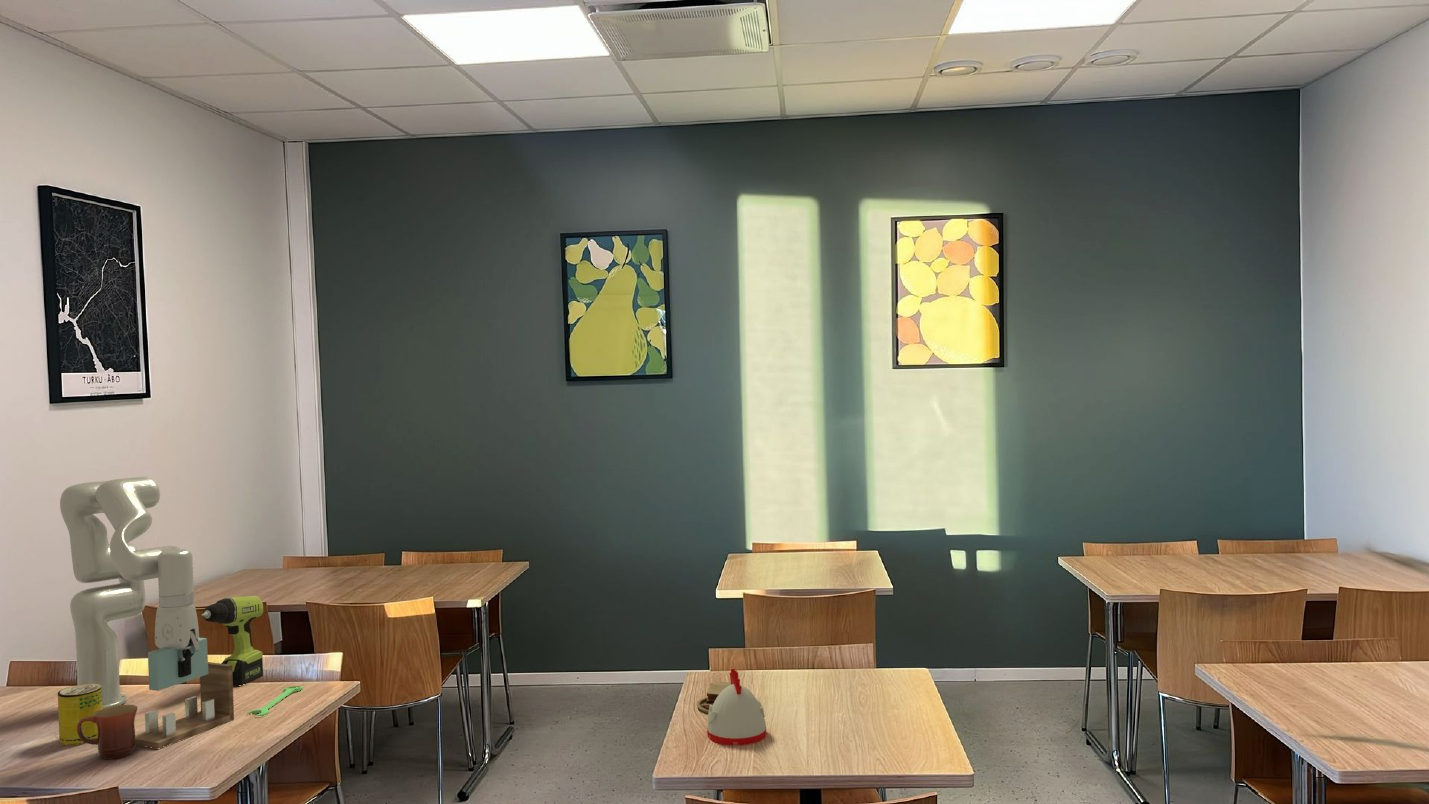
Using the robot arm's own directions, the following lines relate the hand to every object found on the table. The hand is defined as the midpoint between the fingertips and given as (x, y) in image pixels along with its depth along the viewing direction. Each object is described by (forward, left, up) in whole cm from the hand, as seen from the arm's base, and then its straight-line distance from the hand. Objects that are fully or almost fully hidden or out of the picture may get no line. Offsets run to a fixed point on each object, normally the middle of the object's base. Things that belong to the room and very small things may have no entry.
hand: (179, 674), depth 240 cm
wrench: (+4, +25, -15) cm, 30 cm away
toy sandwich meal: (+119, +59, -15) cm, 134 cm away
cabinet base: (0, 0, -14) cm, 14 cm away
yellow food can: (-20, -11, -15) cm, 27 cm away
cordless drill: (-20, +33, -15) cm, 41 cm away
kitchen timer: (+130, +42, -15) cm, 137 cm away
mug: (-3, -17, -15) cm, 22 cm away
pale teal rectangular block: (0, 0, -2) cm, 2 cm away
